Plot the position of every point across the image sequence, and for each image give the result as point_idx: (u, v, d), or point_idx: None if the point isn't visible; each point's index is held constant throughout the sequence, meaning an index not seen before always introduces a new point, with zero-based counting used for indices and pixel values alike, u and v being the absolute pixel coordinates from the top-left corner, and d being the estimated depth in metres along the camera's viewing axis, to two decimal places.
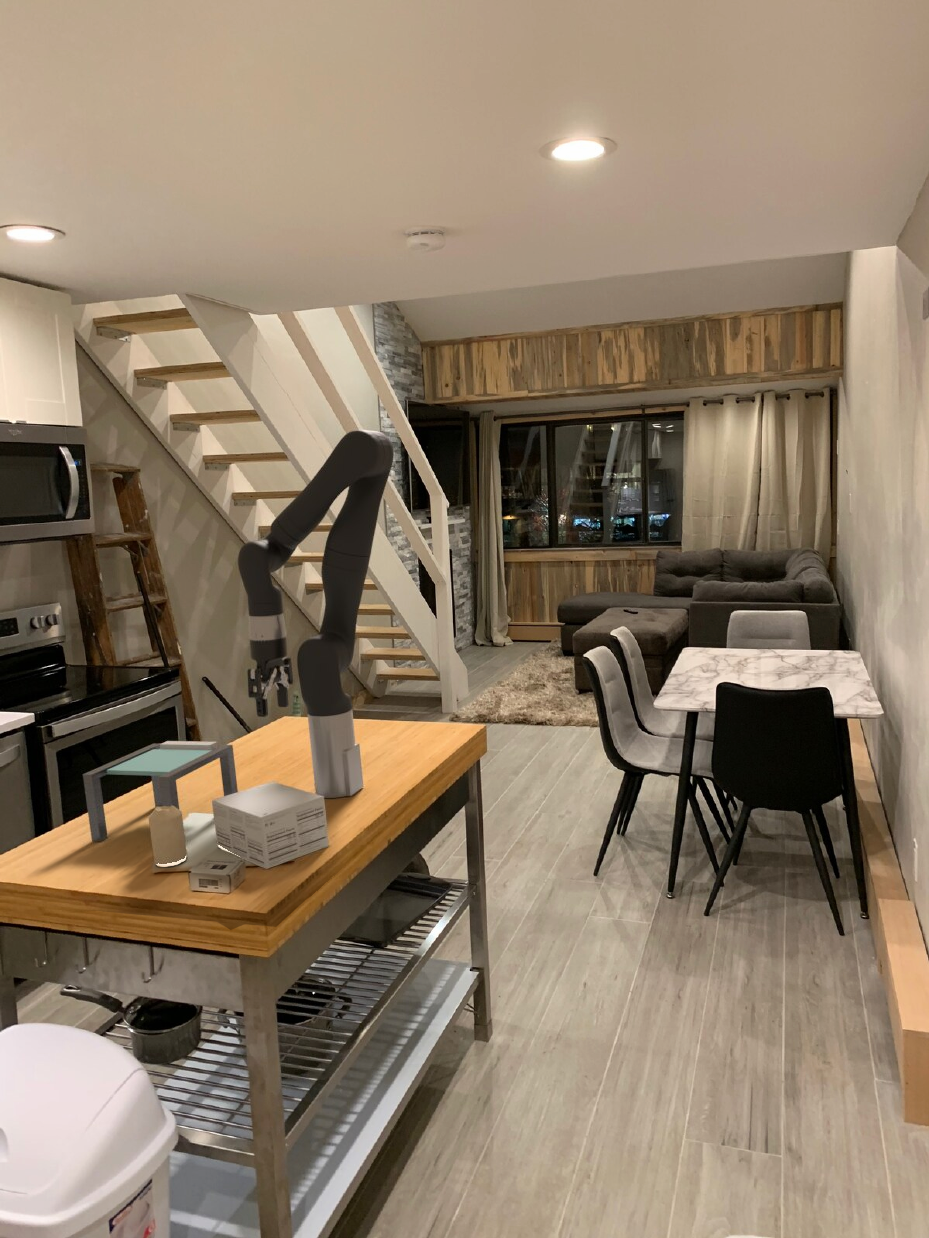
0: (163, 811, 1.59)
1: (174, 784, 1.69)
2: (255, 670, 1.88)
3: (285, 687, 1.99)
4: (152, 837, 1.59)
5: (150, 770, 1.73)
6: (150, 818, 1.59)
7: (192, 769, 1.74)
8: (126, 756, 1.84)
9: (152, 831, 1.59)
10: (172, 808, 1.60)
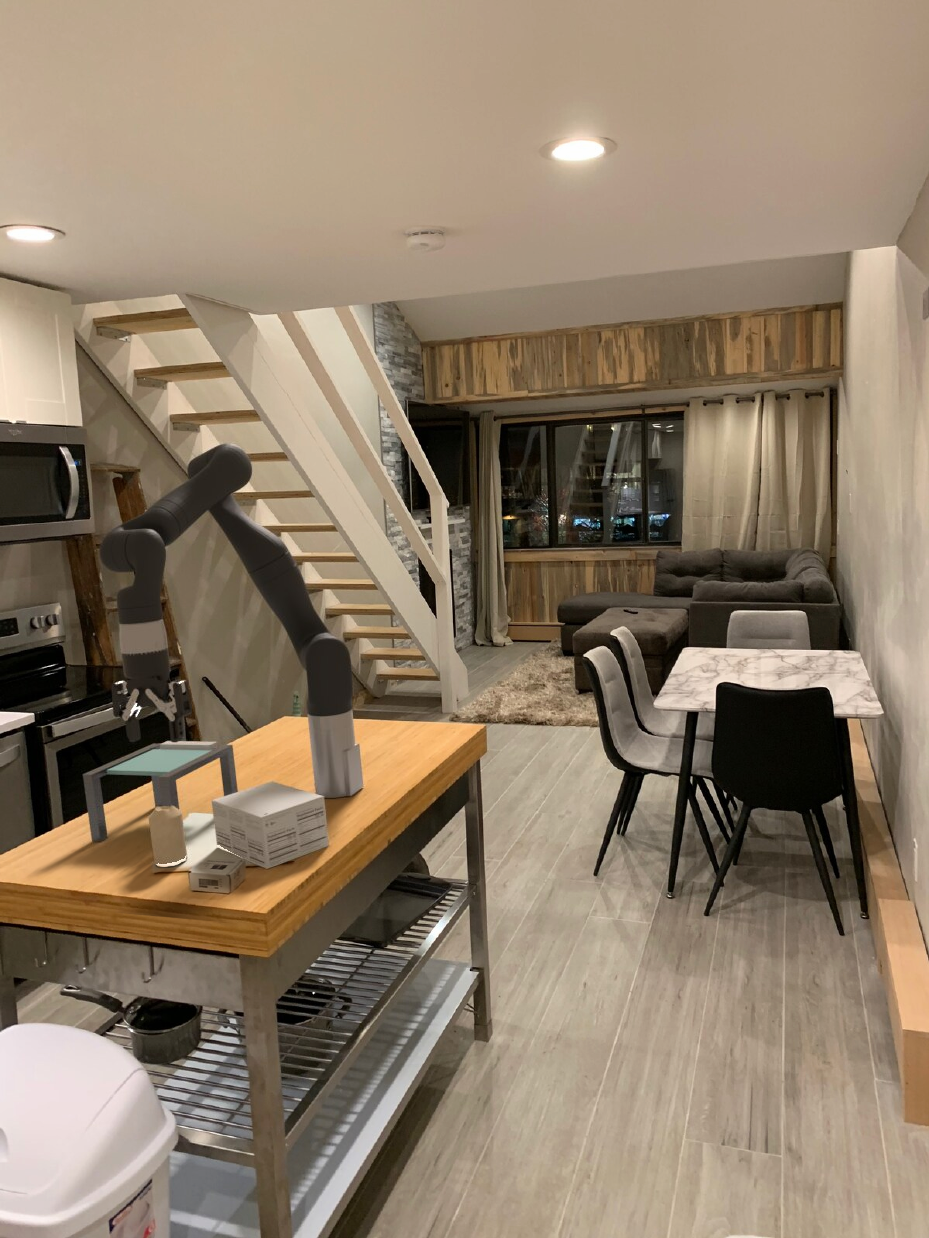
0: (163, 811, 1.59)
1: (174, 784, 1.69)
2: (183, 681, 1.56)
3: (136, 715, 1.60)
4: (152, 837, 1.59)
5: (150, 770, 1.73)
6: (150, 818, 1.59)
7: (192, 769, 1.74)
8: (126, 756, 1.84)
9: (152, 831, 1.59)
10: (172, 808, 1.60)
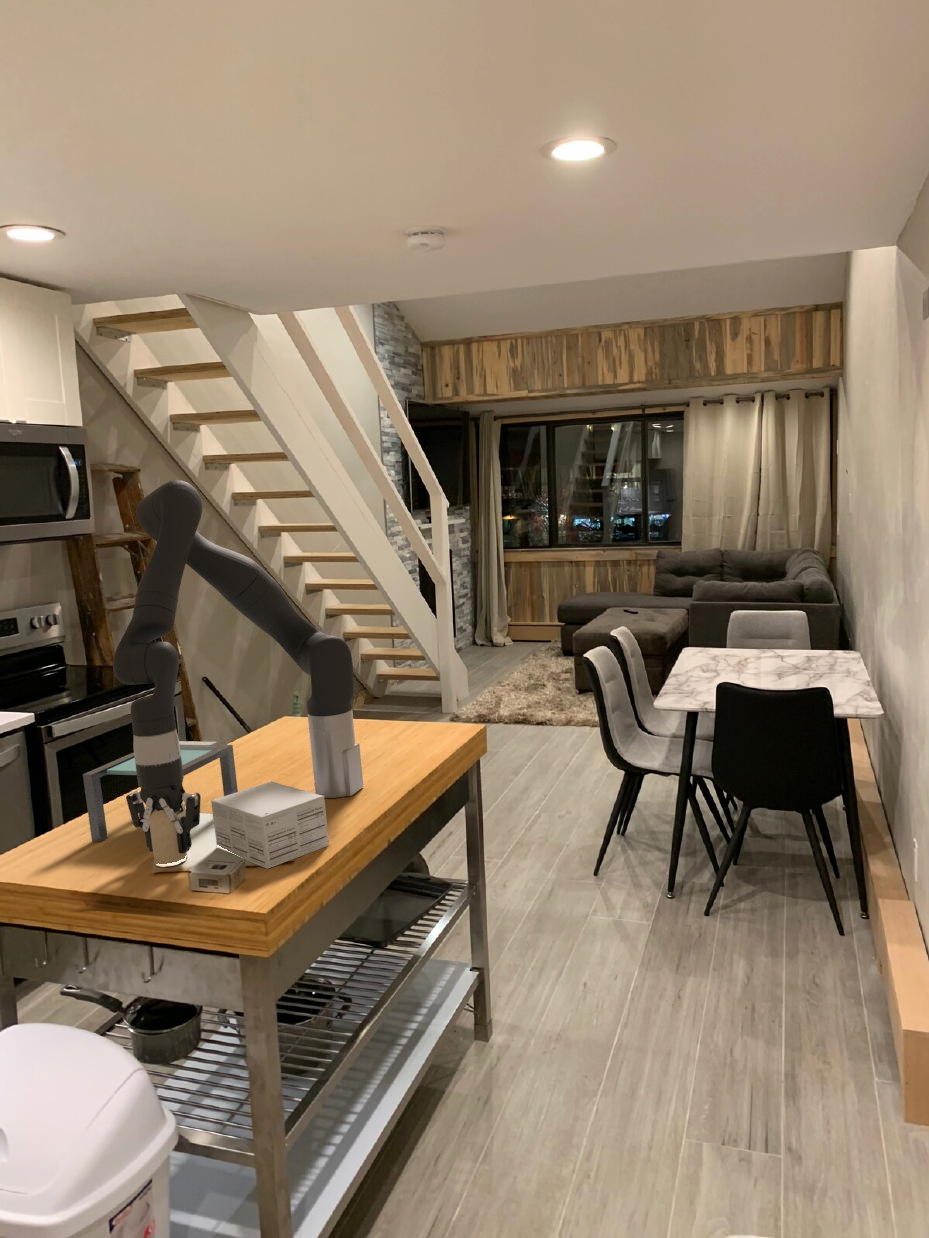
0: (163, 811, 1.59)
1: None
2: (197, 795, 1.58)
3: None
4: (152, 837, 1.59)
5: None
6: (150, 818, 1.59)
7: (192, 769, 1.74)
8: (126, 756, 1.84)
9: (152, 831, 1.59)
10: None
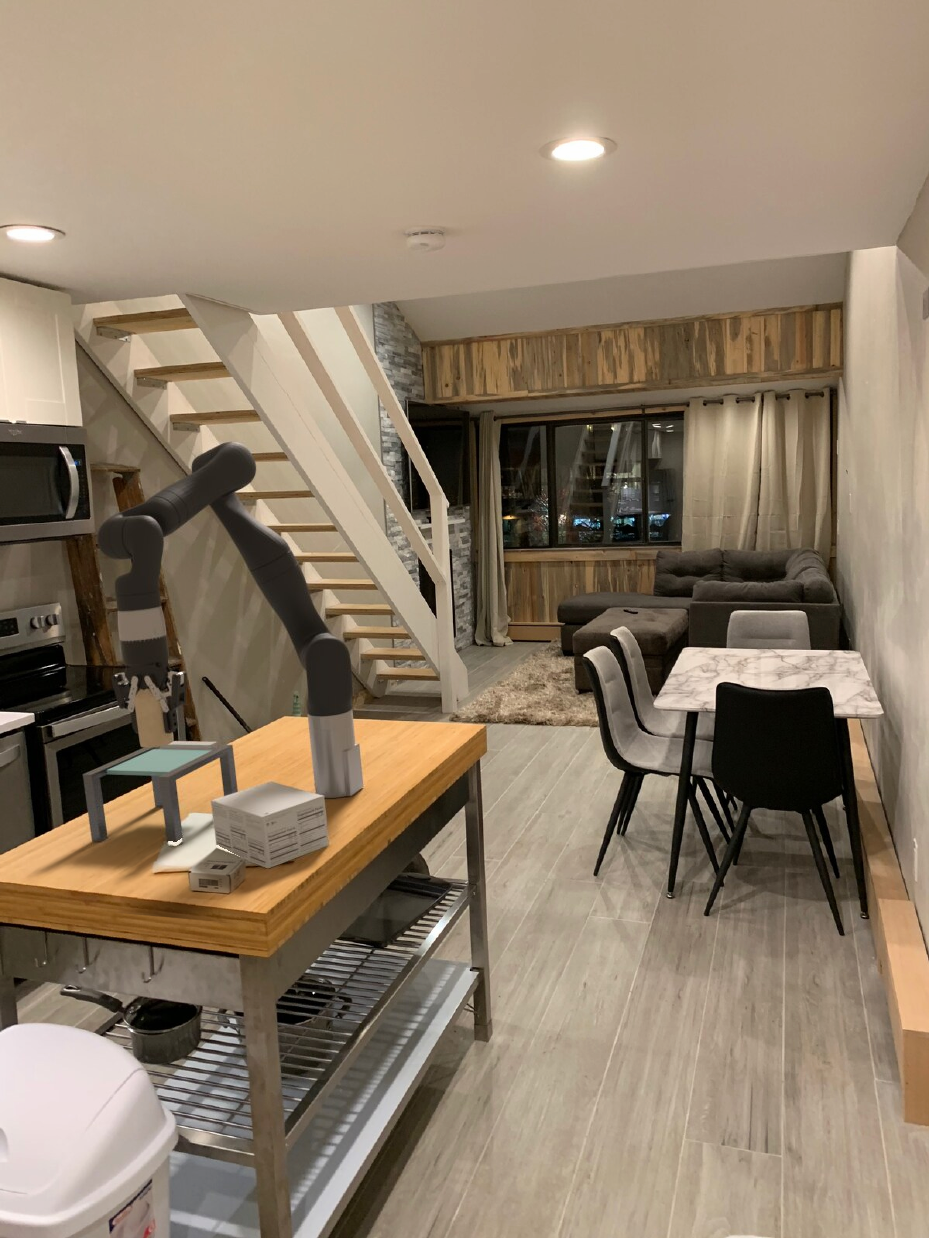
0: (148, 690, 1.56)
1: (174, 784, 1.69)
2: (183, 673, 1.56)
3: None
4: (137, 716, 1.56)
5: (150, 770, 1.73)
6: (135, 697, 1.56)
7: (192, 769, 1.74)
8: (126, 756, 1.84)
9: (137, 710, 1.56)
10: None
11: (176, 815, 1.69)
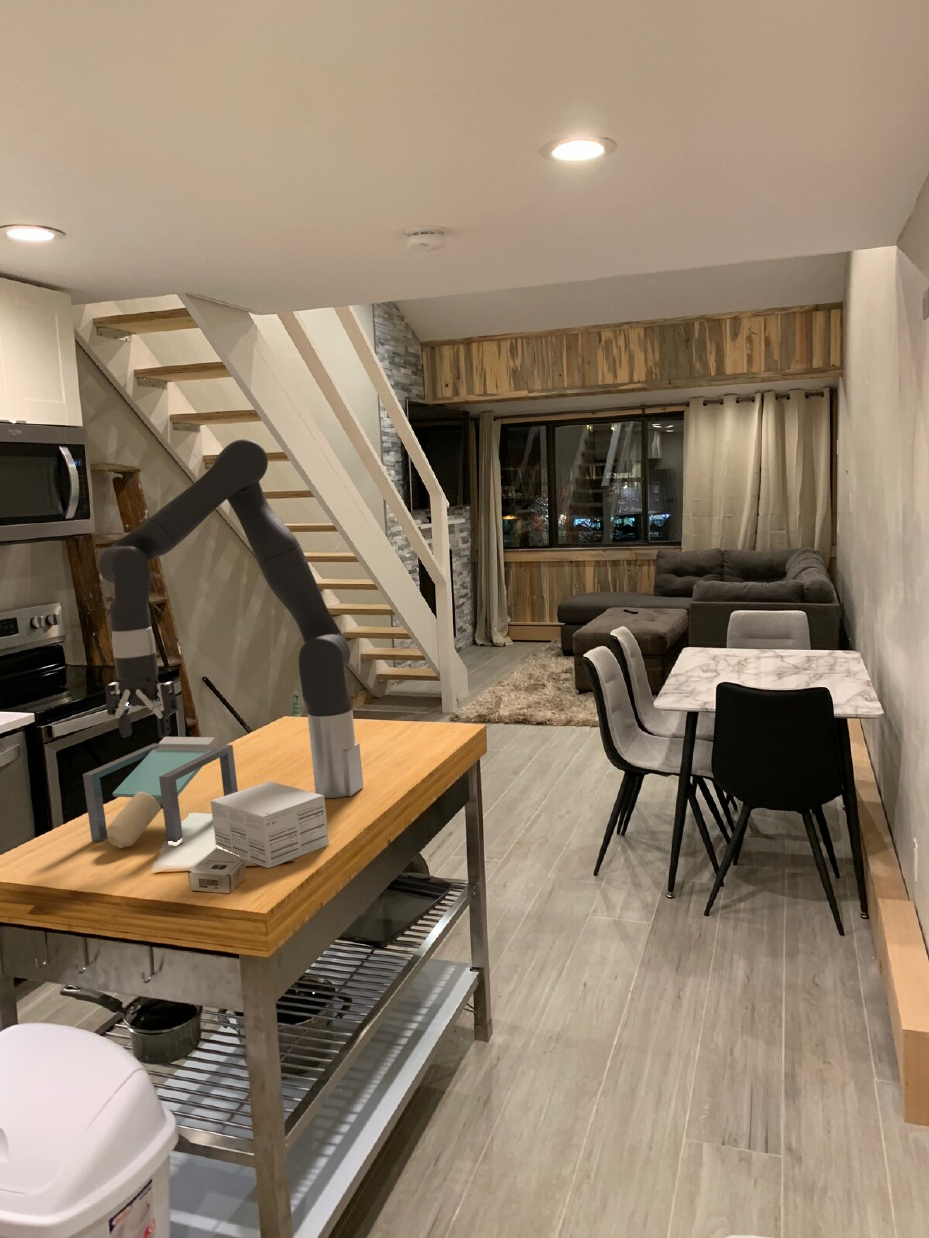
0: (122, 847, 1.69)
1: (174, 784, 1.69)
2: (170, 682, 1.73)
3: (128, 713, 1.78)
4: None
5: (155, 793, 1.74)
6: None
7: (192, 769, 1.74)
8: (126, 756, 1.84)
9: None
10: (122, 842, 1.67)
11: (176, 815, 1.69)
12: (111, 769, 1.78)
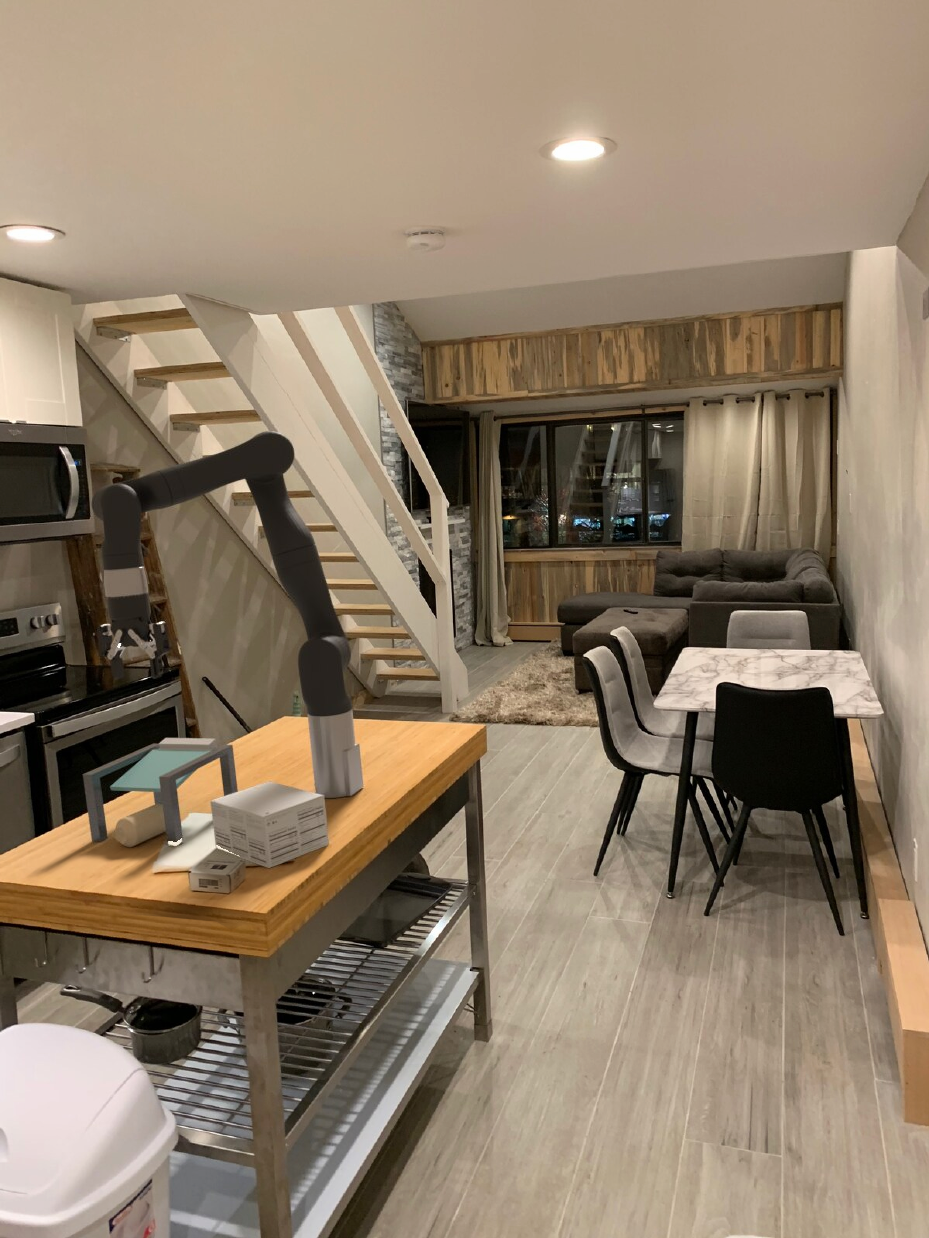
0: (124, 843, 1.69)
1: (174, 784, 1.69)
2: (162, 622, 1.71)
3: (120, 655, 1.76)
4: None
5: (153, 786, 1.74)
6: None
7: (192, 769, 1.74)
8: (126, 756, 1.84)
9: None
10: (127, 837, 1.68)
11: (176, 815, 1.69)
12: (111, 769, 1.78)
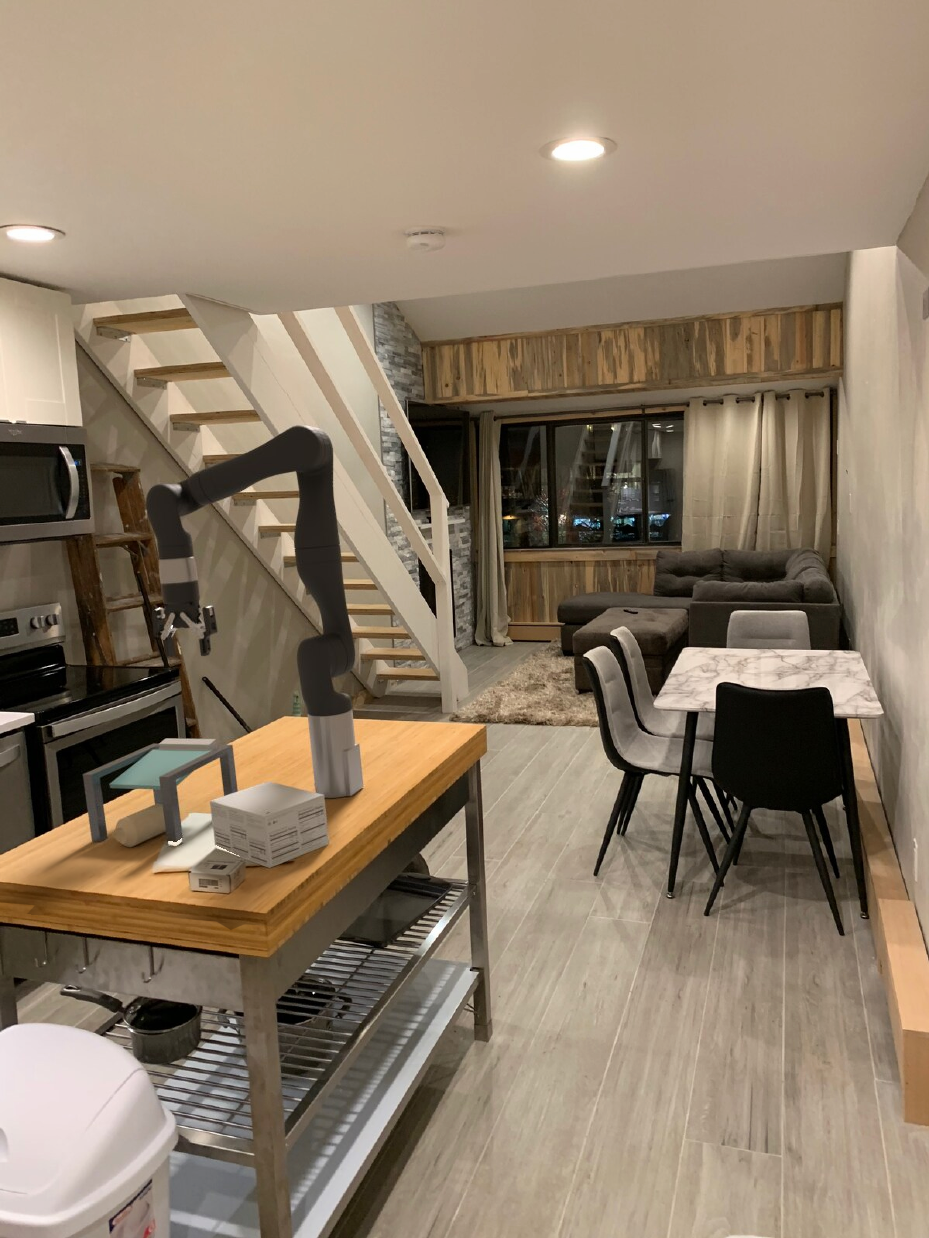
0: (124, 843, 1.69)
1: (174, 784, 1.69)
2: (211, 606, 1.93)
3: (172, 635, 1.98)
4: None
5: (152, 784, 1.74)
6: None
7: (192, 769, 1.74)
8: (126, 756, 1.84)
9: None
10: (127, 837, 1.68)
11: (176, 815, 1.69)
12: (111, 769, 1.78)
